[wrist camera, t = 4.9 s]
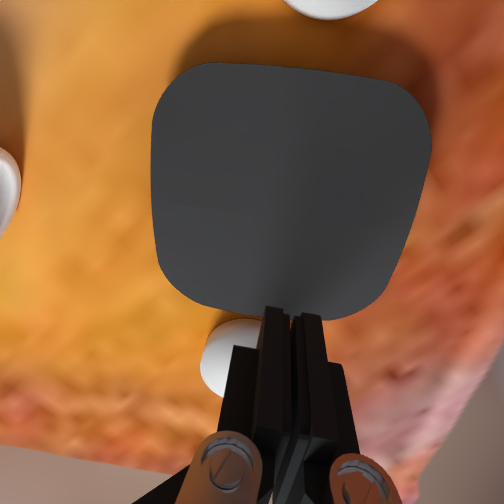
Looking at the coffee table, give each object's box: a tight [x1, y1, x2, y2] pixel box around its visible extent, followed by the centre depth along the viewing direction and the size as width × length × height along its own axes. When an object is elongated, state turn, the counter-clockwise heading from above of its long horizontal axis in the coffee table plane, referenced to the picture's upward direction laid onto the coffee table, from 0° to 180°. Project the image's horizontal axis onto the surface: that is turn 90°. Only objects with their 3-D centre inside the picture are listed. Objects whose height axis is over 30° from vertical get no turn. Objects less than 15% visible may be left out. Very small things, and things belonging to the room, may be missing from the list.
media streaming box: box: [151, 63, 432, 321], centre depth 20 cm, size 15×15×3 cm
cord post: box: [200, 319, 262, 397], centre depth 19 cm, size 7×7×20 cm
